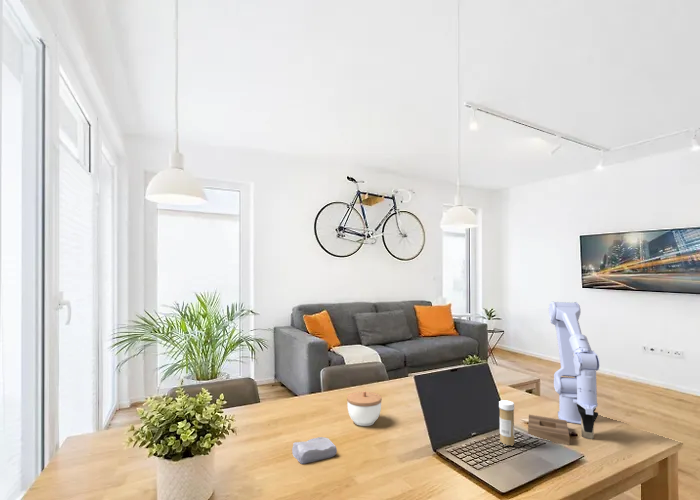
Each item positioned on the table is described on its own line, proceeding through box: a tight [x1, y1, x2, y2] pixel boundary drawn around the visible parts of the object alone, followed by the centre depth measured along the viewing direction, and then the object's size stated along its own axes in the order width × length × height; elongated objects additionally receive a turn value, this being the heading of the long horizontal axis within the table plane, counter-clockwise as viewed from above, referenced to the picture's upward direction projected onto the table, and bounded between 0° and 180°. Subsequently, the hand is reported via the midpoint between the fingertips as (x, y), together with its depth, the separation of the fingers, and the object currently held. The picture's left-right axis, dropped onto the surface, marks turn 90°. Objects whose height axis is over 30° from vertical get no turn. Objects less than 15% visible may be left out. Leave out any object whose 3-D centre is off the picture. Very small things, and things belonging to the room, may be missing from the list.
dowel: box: [580, 418, 595, 440], centre depth 128 cm, size 4×4×8 cm
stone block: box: [291, 436, 338, 465], centre depth 114 cm, size 12×5×10 cm
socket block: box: [527, 413, 570, 446], centre depth 131 cm, size 14×12×3 cm
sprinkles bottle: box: [498, 399, 515, 446], centre depth 122 cm, size 5×5×13 cm
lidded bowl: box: [346, 390, 382, 427], centre depth 139 cm, size 13×13×11 cm
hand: (587, 429), depth 128 cm, fingers closed on dowel, 3 cm apart
